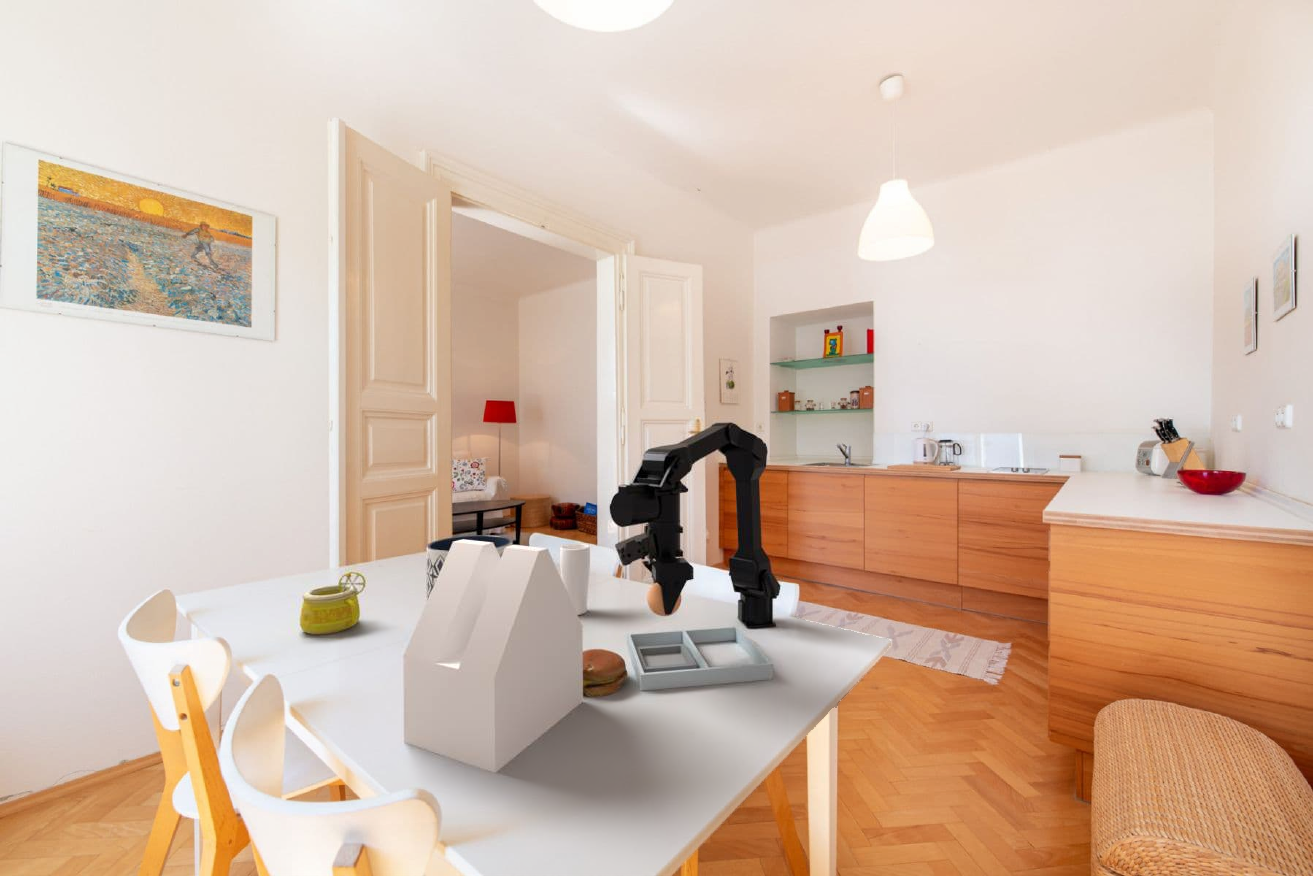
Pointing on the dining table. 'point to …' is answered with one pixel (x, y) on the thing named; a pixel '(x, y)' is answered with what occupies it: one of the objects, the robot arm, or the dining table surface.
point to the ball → (659, 601)
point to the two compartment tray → (698, 659)
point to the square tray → (665, 658)
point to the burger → (602, 672)
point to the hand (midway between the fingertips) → (664, 608)
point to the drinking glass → (576, 573)
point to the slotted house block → (492, 655)
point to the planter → (440, 550)
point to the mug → (331, 607)
